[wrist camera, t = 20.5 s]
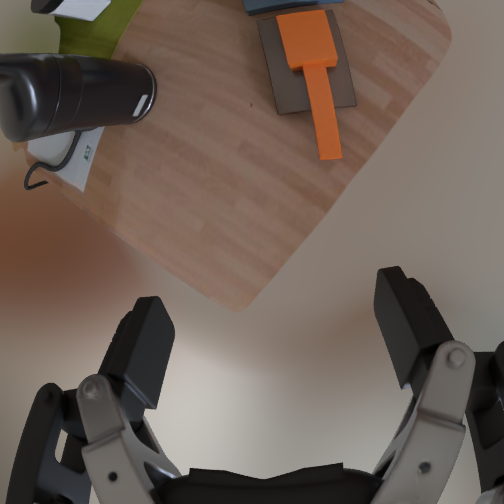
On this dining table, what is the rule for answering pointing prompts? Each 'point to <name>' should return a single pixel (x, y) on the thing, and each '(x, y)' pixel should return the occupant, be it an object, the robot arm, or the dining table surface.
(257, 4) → the stand
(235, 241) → the dining table surface
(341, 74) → the pad
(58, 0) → the jar
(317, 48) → the orange toy mallet
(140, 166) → the dining table surface
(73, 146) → the robot arm
